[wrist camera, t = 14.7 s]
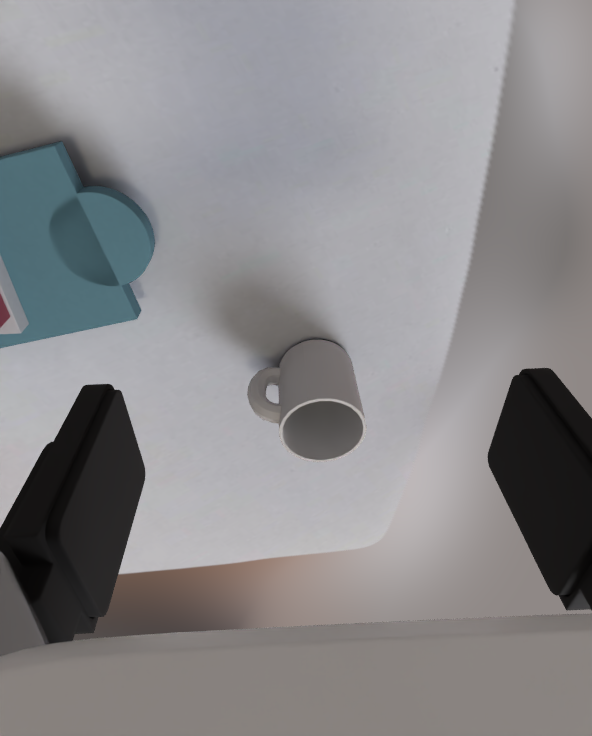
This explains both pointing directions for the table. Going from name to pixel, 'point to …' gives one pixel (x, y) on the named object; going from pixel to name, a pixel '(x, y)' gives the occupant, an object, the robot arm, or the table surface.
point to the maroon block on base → (10, 305)
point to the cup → (312, 401)
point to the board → (68, 246)
